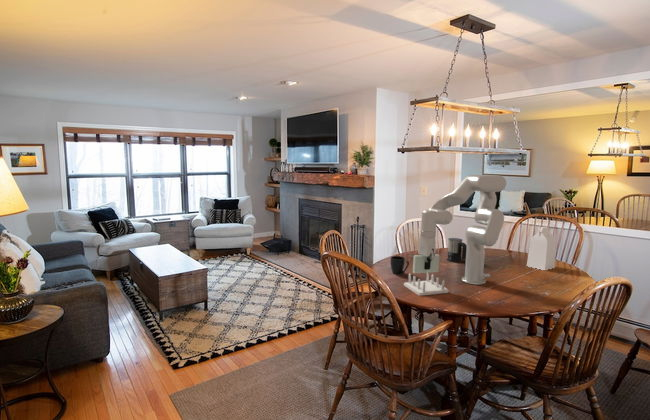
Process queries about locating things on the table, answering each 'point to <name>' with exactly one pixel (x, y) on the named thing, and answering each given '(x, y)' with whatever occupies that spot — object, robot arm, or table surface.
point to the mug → (398, 264)
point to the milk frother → (456, 250)
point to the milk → (542, 250)
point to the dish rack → (426, 286)
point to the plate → (420, 262)
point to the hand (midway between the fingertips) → (425, 268)
